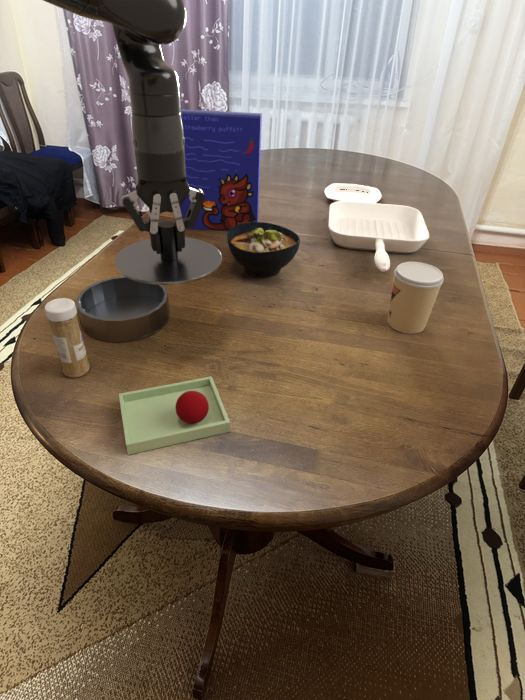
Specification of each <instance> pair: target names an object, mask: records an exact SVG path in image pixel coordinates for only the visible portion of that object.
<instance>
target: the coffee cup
mask: <svg viewBox="0 0 525 700" xmlns="http://www.w3.org/2000/svg"><path fill="white" fill-rule="evenodd" d="M444 279H445V278H444V275H443V272H442V271H441V270H440V269H439V268H438V267H436V266H434V265H431V264H429V263H425V262H420V261H405V262H402V263H399V264H398V265H397V266H396V268H395V269H394V271H393V281H392V285H391V292H390V300H389V306H388V313H387V324H388V325H389V326H390V328H392V329H393V330H395V331H397V332H400V333H402V334H403V333H404V334H409V335H410V334H411V335H412V334H419V333H421V332H424V330H425V328H426V326H427V324H428V321H429V318H430V316H431V313H432V311H433V308H434V305H435V303H436V300H437V297H438V295H439V292H440V289H441V286H442V285H443V283H444Z"/></svg>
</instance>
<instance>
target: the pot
mask: <svg viewBox="0 0 525 700" xmlns="http://www.w3.org/2000/svg"><path fill="white" fill-rule="evenodd" d="M75 303H76V310H77V315H78V319H79V322H80V326H81V327H82V330H83V331H84V332H85V334H86V335H88V336H89V337H91V338H93V339H95V340H98V341H101V342H105V343H116V344H117V343H118V344H120V343H121V344H122V343H131V342H135V341H140V340H144V339H147V338H149V337H152V336H153V335H156V334H157V333H159V332H160V331H162V330H163V329H164V328H165V326H166V325H167V324H168V322H169V320H170V314H171V310H170V309H171V308H170V300H169V293H168V291H167V288H166V287H165V285H154V284H146V283H141V282H137V281H134V280H131V279H129V278H127V277H125V276H124V275H121V276H113V277H109V278H105V279H101V280H98V281H96V282H94V283H92V284H90V285H88V286H87V287H84V289H82V290H81V291H80V293H79V294H78V296H77V297H76V302H75Z"/></svg>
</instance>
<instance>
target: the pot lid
mask: <svg viewBox="0 0 525 700" xmlns="http://www.w3.org/2000/svg"><path fill="white" fill-rule="evenodd" d="M158 232H159V237H160V247H161V254H157V253H156V251H153V249H152V247H151V240H150V238H147V239H142V240H138V241H136V242H133V243H131V244H129V245H127V246H125V247H124V248H122V249H121V250H119V252H118V253H117V254H116V256H115V258H114V264H115V268H116V270H117V271H118V272H119V273H120V275H121V276H125V277H127V278H129V279H131V280H134V281H137V282H141V283H146V284H154V285H163V286H173V285H181V284H188V283H193V282H197V281H200V280H202V279H204V278H205V279H206V278H207V277H210V276H211V275H212V274H214V273H215V272H217V270H219V268H220V267H221V265H222V262H223V255H222V253H221V251H220V250H219V249H218V247H216V246H215V245H213V244H212V243H209V242H208V241H205V240H201V239H198V238H194V237H187V236H185V248H182V252H178V251H177V238H176V224H175V221H171V220H163V221H159V222H158Z"/></svg>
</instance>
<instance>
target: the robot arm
mask: <svg viewBox="0 0 525 700" xmlns="http://www.w3.org/2000/svg"><path fill="white" fill-rule="evenodd" d="M43 1H44V2H46V3H48V4H49V5H53V6H55V7H57V8H60V9H62V10H65V11H66V12H69V13H72V14H73V15H74V14H75V15H77V16H80V17H82V18H84V19H85V18H86V19H89V20H92V21H93V20H94V21H100V22H106V23H109V24H111V28H112V32H113V35H114V40H115V42H116V46H117V49H118V52H119V56H120V59H121V62H122V65H123V68H124V71H125V73H126V76H127V77H126V78H127V80H128V92H129V100H130V107H131V109H130V110H131V134H132V144H133V150H134V159H135V167H136V175H137V183H136V186H135V190H133V191H131V192H129V193H123V194H121V198H120V199H121V201H122V204H123V206H124V208H125V210H126V211H127V212H128V214H129V216H130V217H131V219H132V221H133V222H134V224H135V226H136V227H137V228H138V231H139V232H141V233H142V232H147V233H149V239H150V240H151V247H152V249H153V251H156V253H157V254H161V247H160V237H159V232H158V223H159V222H160V214H163V213H165V212H166V213H171V214H172V217H173V222H174V223H175V224H176V238H177V251H178V252H182V248H185V237H186V236H185V235H186V234H185V231H186V230H187V229H186V228H188V227H193V226H194V225H195V223H196V220H197V218H198V215H199V213H200V210H201V207H202V205H203V202H204V200H205V195H204V193H203V192H202V190H201V189H197V190H196V189H193V188H191V187H190V186H189V184H188V183H187V180H186V167H185V149H184V145H185V139H184V132H183V125H182V119H181V113H180V112H181V110H180V109H181V97H180V95H181V94H180V83H179V76H178V73H177V72H176V70H175V69H174V68H173V67H171V66H170V65H169V64H168V63H167V62H166V61H165V59H164V56H163V52H162V47H161V46H165V45H166V46H167V45H169V44H172V43H173V42H175V41H176V40H178V39H179V38H180V37H181V35H182V34H183V32H184V30H185V27H186V23H187V11H186V7H185V2H184V0H42V2H43ZM188 194H189V195H190V197H189V199H190V201H191V204H190V207H189V209H188V212H187V215H186V217H185V218H183V219H182V214H181V210H180V207H181V205H182V203H183V202H184V200H185V199H186V197H187V195H188ZM138 199H140V200H141V201H142V202H143V203H144V204H145V206H147V207H148V220H144V219H143V217H142V215H141V214H140V212H139V210H138V209H137V207H138V205H139V203H138Z"/></svg>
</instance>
